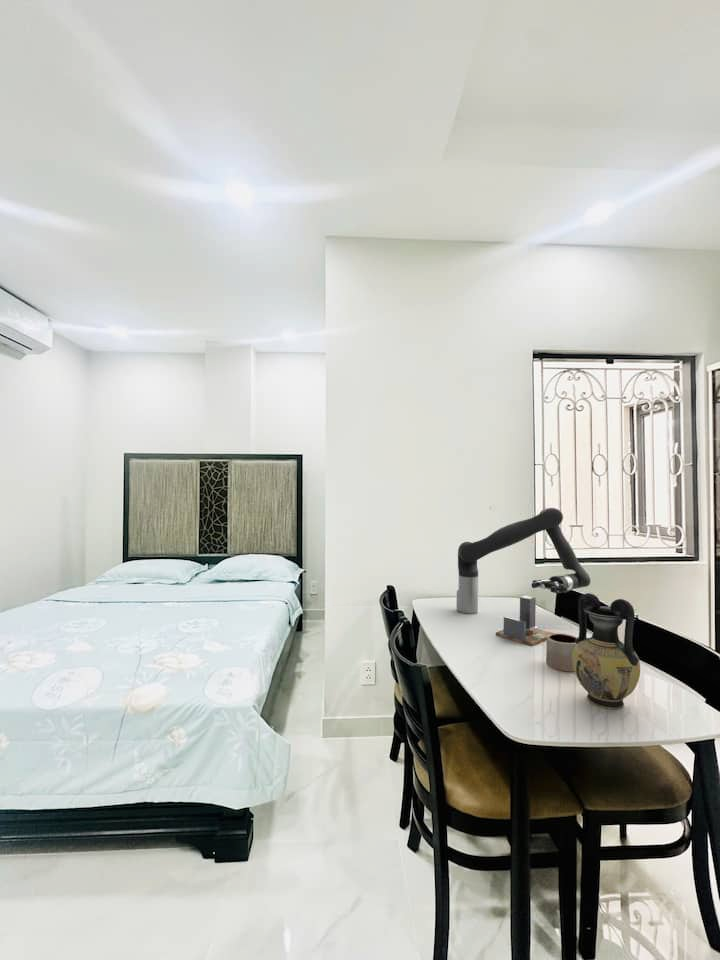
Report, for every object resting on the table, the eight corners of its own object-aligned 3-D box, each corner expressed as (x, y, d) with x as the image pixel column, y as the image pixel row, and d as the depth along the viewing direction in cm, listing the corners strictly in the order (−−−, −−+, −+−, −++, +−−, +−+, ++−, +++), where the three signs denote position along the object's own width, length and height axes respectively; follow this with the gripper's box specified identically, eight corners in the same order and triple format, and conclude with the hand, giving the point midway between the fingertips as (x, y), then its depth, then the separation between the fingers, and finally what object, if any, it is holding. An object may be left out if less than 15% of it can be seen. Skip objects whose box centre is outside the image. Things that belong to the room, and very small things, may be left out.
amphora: (561, 700, 131) (562, 594, 132) (583, 683, 143) (584, 586, 144) (630, 724, 119) (631, 607, 119) (648, 703, 131) (649, 596, 131)
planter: (587, 673, 151) (587, 644, 151) (553, 672, 151) (553, 643, 151) (572, 660, 162) (572, 633, 162) (541, 660, 162) (541, 632, 162)
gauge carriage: (509, 633, 186) (510, 598, 186) (524, 628, 193) (525, 594, 193) (526, 638, 180) (526, 602, 180) (541, 632, 187) (541, 598, 188)
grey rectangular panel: (503, 634, 186) (503, 616, 186) (505, 633, 186) (505, 616, 187) (524, 640, 179) (524, 622, 179) (525, 639, 180) (525, 621, 180)
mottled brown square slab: (495, 635, 188) (496, 631, 188) (520, 626, 200) (520, 623, 200) (532, 646, 176) (532, 642, 176) (555, 636, 188) (555, 633, 188)
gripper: (545, 572, 212) (527, 575, 202) (577, 578, 202) (558, 582, 191) (545, 588, 212) (526, 592, 202) (576, 595, 201) (557, 600, 191)
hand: (542, 587), depth 197 cm, fingers open, 8 cm apart
